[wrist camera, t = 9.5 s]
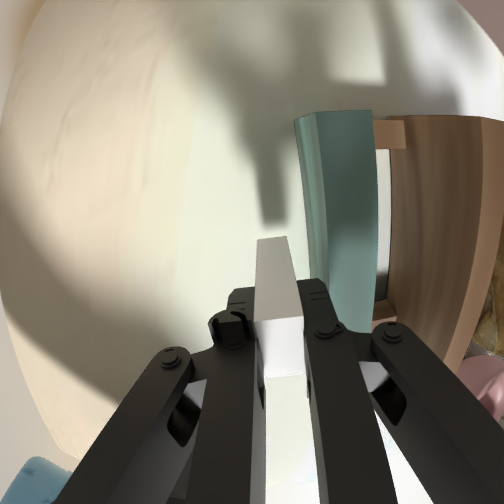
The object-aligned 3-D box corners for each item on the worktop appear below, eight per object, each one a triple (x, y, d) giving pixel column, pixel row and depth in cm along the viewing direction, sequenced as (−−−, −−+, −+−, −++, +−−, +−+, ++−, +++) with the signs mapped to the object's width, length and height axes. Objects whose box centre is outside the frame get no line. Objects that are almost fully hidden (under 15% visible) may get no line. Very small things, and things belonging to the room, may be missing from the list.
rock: (412, 103, 10) (366, 307, 12) (565, 148, 5) (520, 369, 6) (431, 169, 18) (402, 287, 20) (520, 197, 13) (490, 321, 15)
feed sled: (313, 331, 19) (331, 425, 12) (293, 120, 13) (329, 106, 6) (401, 314, 18) (445, 393, 11) (408, 117, 13) (505, 121, 6)
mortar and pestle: (503, 341, 21) (547, 404, 10) (442, 407, 25) (469, 472, 15) (459, 321, 19) (521, 411, 9) (384, 403, 24) (410, 492, 13)
